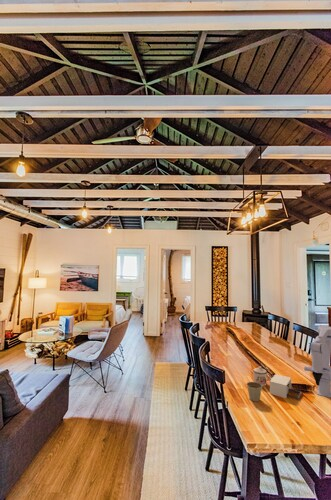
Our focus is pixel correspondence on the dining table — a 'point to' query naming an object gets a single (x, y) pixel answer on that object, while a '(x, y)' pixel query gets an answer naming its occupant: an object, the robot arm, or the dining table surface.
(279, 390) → the grey rectangular block
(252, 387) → the flower pot
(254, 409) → the dining table surface
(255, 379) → the teacup with lid
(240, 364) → the dining table surface
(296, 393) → the tray
